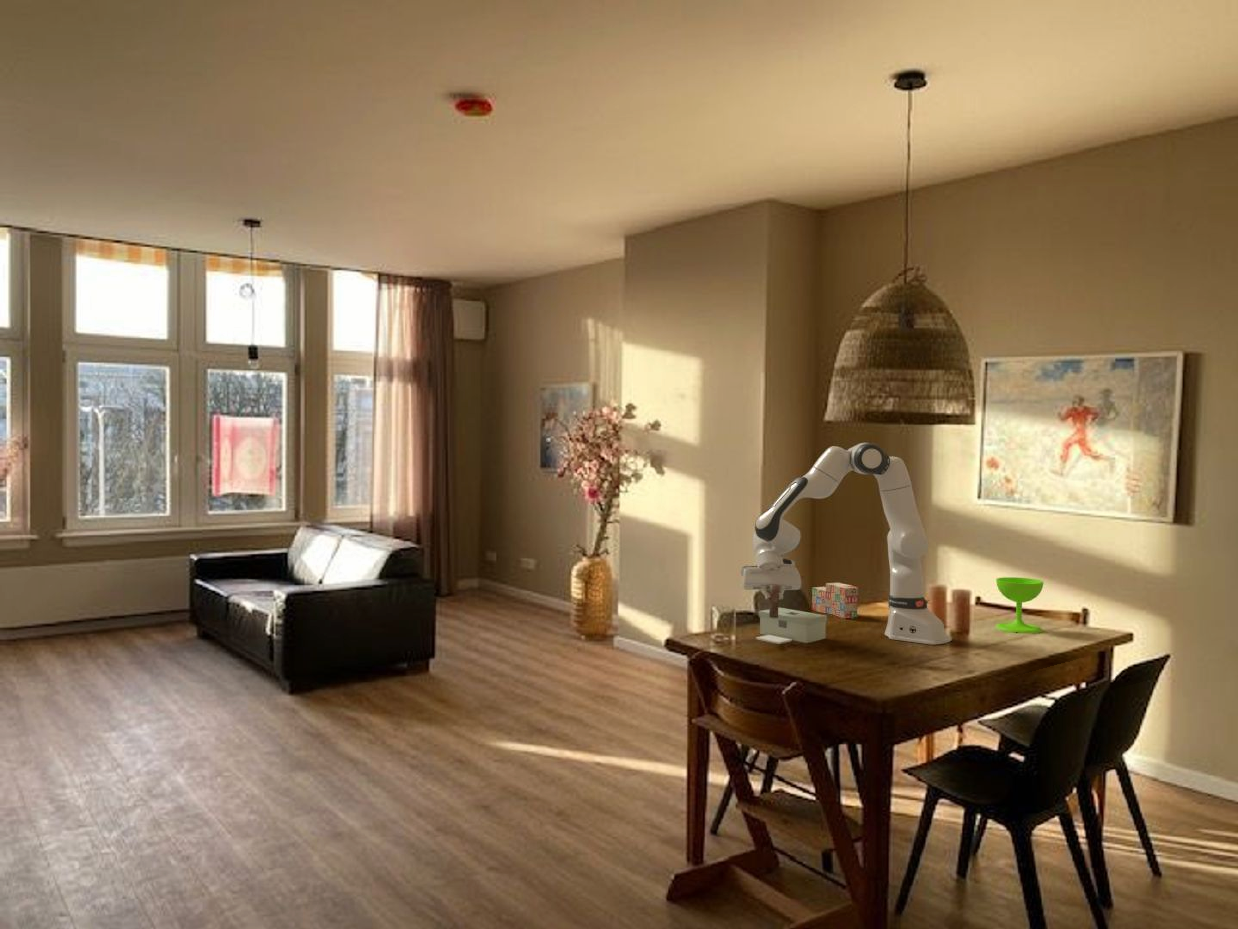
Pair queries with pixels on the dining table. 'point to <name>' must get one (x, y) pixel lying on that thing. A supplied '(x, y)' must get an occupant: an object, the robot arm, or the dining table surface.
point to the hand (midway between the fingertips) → (774, 598)
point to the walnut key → (774, 601)
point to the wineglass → (1019, 601)
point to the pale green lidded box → (794, 625)
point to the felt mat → (773, 639)
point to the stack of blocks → (836, 600)
